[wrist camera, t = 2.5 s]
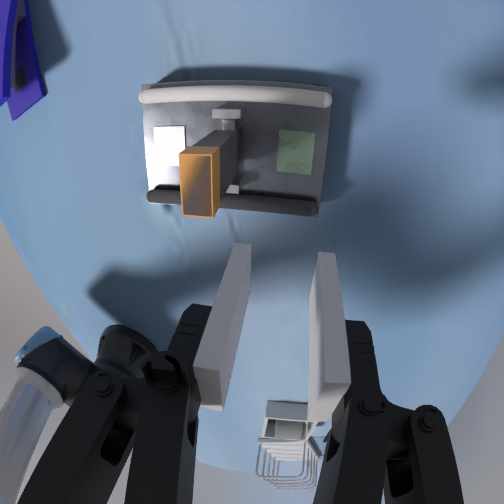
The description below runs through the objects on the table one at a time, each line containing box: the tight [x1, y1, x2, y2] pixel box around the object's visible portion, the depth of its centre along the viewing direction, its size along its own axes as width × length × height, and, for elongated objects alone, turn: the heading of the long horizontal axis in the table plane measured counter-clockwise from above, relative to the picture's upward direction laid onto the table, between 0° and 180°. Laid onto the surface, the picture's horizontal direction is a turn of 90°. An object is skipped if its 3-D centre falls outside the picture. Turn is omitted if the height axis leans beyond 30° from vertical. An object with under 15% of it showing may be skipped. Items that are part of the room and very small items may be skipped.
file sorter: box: [255, 438, 320, 490], centre depth 84 cm, size 25×17×16 cm
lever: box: [178, 119, 237, 218], centre depth 27 cm, size 3×7×13 cm, turn 178°
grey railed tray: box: [139, 85, 332, 216], centre depth 32 cm, size 22×15×2 cm
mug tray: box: [261, 401, 318, 441], centre depth 72 cm, size 14×16×5 cm
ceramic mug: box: [274, 419, 305, 439], centre depth 70 cm, size 11×8×8 cm
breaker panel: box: [142, 80, 333, 218], centre depth 33 cm, size 22×16×6 cm
